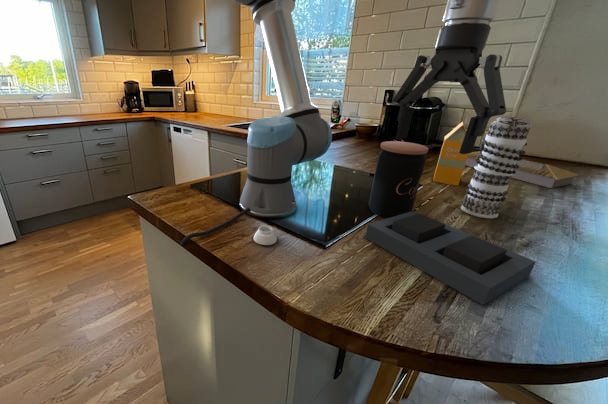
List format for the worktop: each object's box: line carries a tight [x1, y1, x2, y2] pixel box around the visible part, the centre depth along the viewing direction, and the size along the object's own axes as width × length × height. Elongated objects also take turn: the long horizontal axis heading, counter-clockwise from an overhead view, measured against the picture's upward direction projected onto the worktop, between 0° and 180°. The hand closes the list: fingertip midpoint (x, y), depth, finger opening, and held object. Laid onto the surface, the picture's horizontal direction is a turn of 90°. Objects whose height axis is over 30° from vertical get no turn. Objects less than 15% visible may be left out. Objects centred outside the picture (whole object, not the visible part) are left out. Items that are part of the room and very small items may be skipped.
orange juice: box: [432, 121, 469, 186], centre depth 102 cm, size 8×9×20 cm
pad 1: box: [391, 212, 447, 244], centre depth 64 cm, size 9×6×5 cm, turn 119°
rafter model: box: [465, 150, 581, 189], centre depth 115 cm, size 35×14×6 cm, turn 23°
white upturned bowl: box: [253, 225, 278, 246], centre depth 64 cm, size 5×3×5 cm
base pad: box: [364, 210, 537, 306], centre depth 60 cm, size 16×24×4 cm, turn 28°
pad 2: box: [443, 235, 508, 275], centre depth 55 cm, size 9×6×5 cm, turn 118°
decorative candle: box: [460, 116, 534, 219], centre depth 77 cm, size 9×9×25 cm
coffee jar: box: [368, 140, 429, 219], centre depth 77 cm, size 11×11×18 cm
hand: (430, 145), depth 61 cm, fingers open, 13 cm apart
